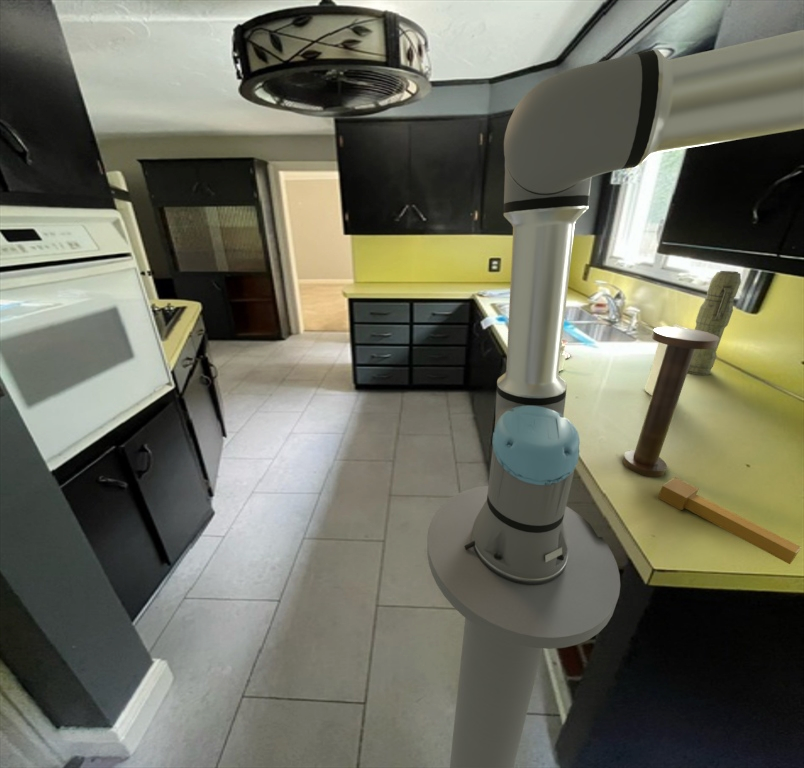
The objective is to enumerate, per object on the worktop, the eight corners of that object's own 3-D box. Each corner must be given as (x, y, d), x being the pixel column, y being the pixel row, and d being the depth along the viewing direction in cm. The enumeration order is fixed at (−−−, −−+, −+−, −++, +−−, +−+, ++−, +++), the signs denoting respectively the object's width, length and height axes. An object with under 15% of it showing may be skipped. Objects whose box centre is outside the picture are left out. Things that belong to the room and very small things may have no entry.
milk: (663, 391, 117) (684, 323, 108) (675, 399, 111) (699, 328, 102) (643, 390, 117) (663, 323, 108) (654, 398, 111) (676, 328, 103)
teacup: (576, 358, 146) (579, 343, 143) (550, 360, 143) (553, 345, 140) (557, 349, 156) (559, 335, 154) (533, 351, 154) (535, 337, 151)
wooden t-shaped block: (786, 568, 56) (795, 554, 55) (658, 498, 70) (662, 485, 69) (797, 554, 58) (805, 540, 57) (670, 489, 73) (675, 477, 72)
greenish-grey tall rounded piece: (702, 366, 137) (736, 270, 123) (716, 377, 127) (754, 274, 113) (675, 363, 140) (705, 269, 126) (686, 374, 130) (720, 273, 116)
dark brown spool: (634, 480, 75) (677, 341, 63) (608, 452, 85) (642, 326, 73) (681, 480, 75) (734, 341, 63) (651, 452, 85) (692, 326, 73)
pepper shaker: (553, 366, 137) (558, 342, 133) (563, 369, 134) (568, 345, 130) (548, 369, 134) (552, 344, 131) (557, 372, 132) (562, 347, 128)
